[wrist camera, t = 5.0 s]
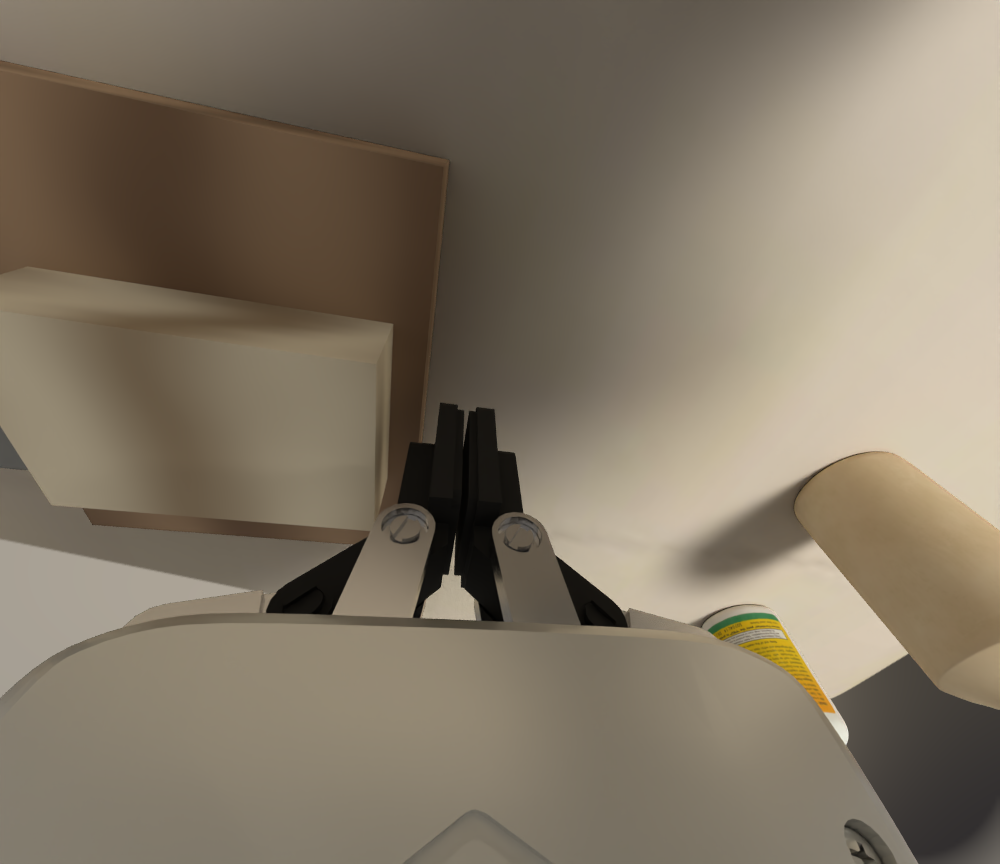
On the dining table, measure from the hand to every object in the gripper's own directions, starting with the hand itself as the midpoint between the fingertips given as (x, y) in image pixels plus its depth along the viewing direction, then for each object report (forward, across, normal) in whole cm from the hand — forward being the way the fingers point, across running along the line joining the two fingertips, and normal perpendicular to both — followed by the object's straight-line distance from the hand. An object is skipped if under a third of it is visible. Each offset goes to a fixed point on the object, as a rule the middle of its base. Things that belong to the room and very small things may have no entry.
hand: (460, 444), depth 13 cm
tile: (0, +7, 0) cm, 7 cm away
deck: (+4, +7, 0) cm, 9 cm away
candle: (+4, -21, +4) cm, 21 cm away
